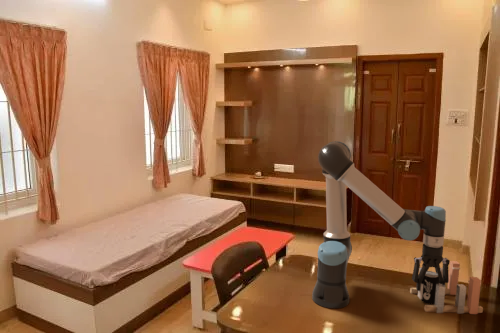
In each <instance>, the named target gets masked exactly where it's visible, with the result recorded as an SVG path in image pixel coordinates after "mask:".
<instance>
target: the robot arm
mask: <svg viewBox="0 0 500 333" xmlns="http://www.w3.org/2000/svg"><path fill="white" fill-rule="evenodd" d="M351 158H352V152H351V149H350V148H349V146H348V145H347V144H346V143H344V142H341V141H337V140H335V141H331V142H328V143H327V144H325V145H323V146H322V147H321V148H320V150H319V152H318V154H317V160H318V164H319V166H320V167H321V173H322V175H323V176H324V177H325V202H326V203H325V205H326V206H325V207H326V208H325V209H326V230H325V231H324V232H323V242H322V243H320V244H319V246H318V249H317V274H316V282H315V285H314V287H313V290H312V292H311V293H312V294H311V297H312V301H313V302H314V303H315V304H316V305H318V306H321V307H324V308H328V309H341V308H345V307H347V306H348V305H349V303H350V294H349V293H350V292H349V291H348V287H347V281H346V280H347V267H348V263H349V259H350V257H351V256H352V251H353V246H352V242H351V233H350V232H349V231H348V228H347V226H348V225H347V223H348V220H347V217H348V216H347V188H349V189H350V190H351V191H352V192H353V193H354V194H355V195H356V196H357V197H358V198H360V199H361V200H362V201H363V202H364V203H365V204H367V206H369V207H370V208H371V209H372V210H374V212H376V214H378V215H379V216H380V217H381V218H382V219H384V220H385V221H386V222H387V223H388V224H389V225H390V226H391V227H392V228H394V229H395V230H396V231H397V234H398V235H399V236H400V238H401V239H403V240H405V241H414V240H416V239H417V238H418V237H419V235H420V233H421V230H423V238H422V250H421V251H422V252H421V255H420V257H414V258H413V261H414V265H413V272H412V276H411V280H412V281H413V282H414V283H415V284H416V285H415V286H416V287H415V288H416V289H417V290H418V294H417V297H418V299H419V300H421V299H422V295H423V284H422V281H423V279H424V276H425V274H426V272H427V270H428V271H429V269H430V268H434V270H435V271H434V272H435V273H437V274H438V277H439V284H443V285H445V286H446V284H448V282H449V266H450V261H451V260H450V259H449V258H447V257H443V254H444V242H445V241H444V239H445V232H446V231H445V230H446V221H447V220H446V217H447V216H446V213H447V212H446V209H445V208H443V207H441V206H435V205H428V206H426V207H425V209H424V210H415V209H405V208H402V207H401V206H400V205H399V204H398V203H396V202H395V201H394V200H393V199H392V198H391V197H390V196H388V195H387V194H386V193H385V192H384V191H383V190H381V189H380V188H379V187H378V186H377V185H376V184H375V183H373V181H371V180H370V179H369V178H368V177H367V176H365V175H364V174H363V173H362V172H361V171H360V170H359V169H357V168H356V167H355V163H354V161H352V160H351ZM421 263H422V265H421ZM441 263H442V268H443V277H442V274H441V270H440V268H441V266H440V264H441ZM420 267H422V268H421V270H420ZM419 271H420V273H419Z"/></svg>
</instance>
